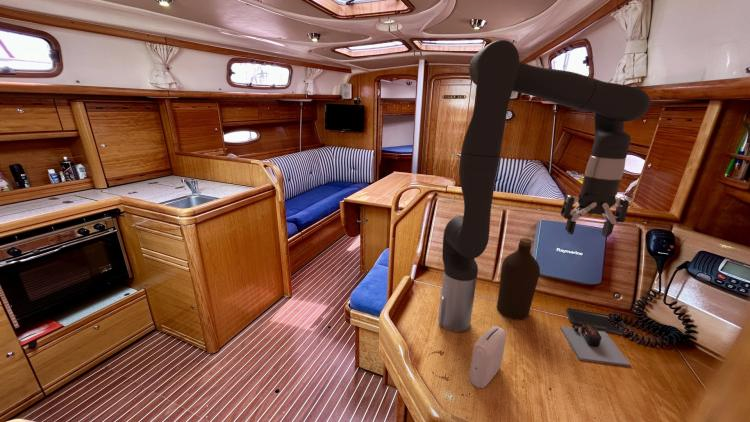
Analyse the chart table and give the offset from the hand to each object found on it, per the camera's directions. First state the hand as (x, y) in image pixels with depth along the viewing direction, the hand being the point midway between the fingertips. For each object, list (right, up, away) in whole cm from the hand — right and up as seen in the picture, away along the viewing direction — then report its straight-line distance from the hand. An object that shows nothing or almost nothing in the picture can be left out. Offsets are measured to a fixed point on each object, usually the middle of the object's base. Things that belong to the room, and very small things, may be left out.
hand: (587, 234), depth 81 cm
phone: (+11, -28, +12) cm, 33 cm away
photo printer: (-30, -34, -6) cm, 46 cm away
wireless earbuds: (+3, -30, +5) cm, 30 cm away
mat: (+3, -31, +3) cm, 31 cm away
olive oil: (-12, -26, +17) cm, 33 cm away
